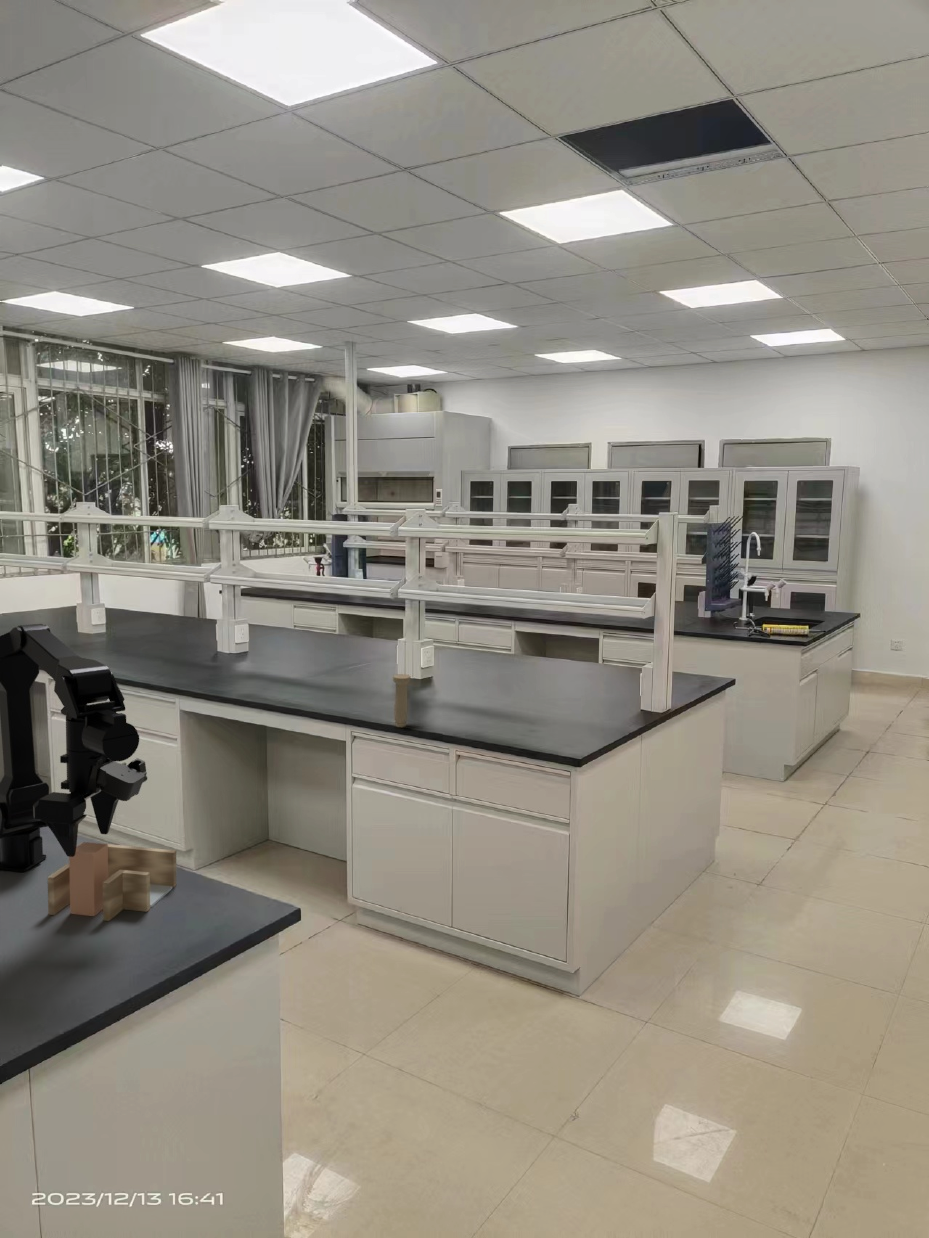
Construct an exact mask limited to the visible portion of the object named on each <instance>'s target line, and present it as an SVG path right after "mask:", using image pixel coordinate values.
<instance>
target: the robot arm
mask: <svg viewBox="0 0 929 1238" xmlns="http://www.w3.org/2000/svg"><path fill="white" fill-rule="evenodd" d="M40 669H42V670H43V671H44V672H45V673H46V674H47V675H48V676H50V677H51V678H52V679H53V681H54V688H53V691H54V693H55V694H56V696H57V697H58V699H59V700H60V702H61V704H62V706H63V707H62V709H60V714H61V715H64V716H65V743H66V745H65V747H66V748H65V750H66V752H65V754H62V755H59V758H60V759H59V760H60V764H61V763H62V764H66V779H65V780H62V781H61V782H60V789H61V790H67V791H68V792H69V793H68V792H67V793H66V792H56V791H52V792H51V793H50V786H49V785H48V783H47V782H44V781H43V780H42V778H41V777H40V776H39V775H38V774H37V772H36V771H37V770H36V759H35V758H36V756H35V742H34V728H33V712H32V700H31V698H32V697H31V689H32V686H33V685H34V683H35V681H36V679H37V678H38V676H39V674H40ZM108 700H109V701H108ZM124 701H125V697H124V695H123V693H122V691H121V689H120V686H119V685H118V683H117V681H116V678H115V676H114V674H113V672H112V671H111V669H110V667H108V666H107V665H106V664H104V663H102V662H100V661H98V660H95V659H92V658H91V659H90V658H86V657H81V656H79V655H77V654H76V653H75V652H74V651H73V650H72V649H71V648H69V647H68V646H67V645H66V644H65V643H63V641H61V640H60V639H59V638H58V637H56V635H54V634H53V633H52V632H51V629H50V627H49V625H46V624H43V623H34V624H33V623H32V624H21V625H17V626H16V627H15V626H14V627H13V628H12V629H11V630H10V631H8V632H5V633H4V634H2V635H0V729H1V730H0V733H1V747H2V748H1V749H2V760H3V773H4V774H3V777H2V778H1V780H0V870H1V871H2V870H3V871H12V872H22V873H23V872H27V871H28V870H30V869H31V868H33V867H34V866H36V865H37V864H39V863H40V862H42V861H44V860H45V859H46V858H47V855H46V854H44V849H43V847H44V846H43V836H41V829H42V828H48V829H49V830H50V831H51V832H52V834H53V835H54V837H55V838H56V841H58V844H60V847H61V849H62V850H63V851H64V854H65V856H67V857H68V858H69V857H74V856H75V853H76V847H77V846H78V845H77V844H78V833H79V824H80V823H81V822H83V820H84V819H85V818H86V817H87V814H85V811H86V809H87V800H88V799H90V801H91V805H92V809H93V811H94V812H93V813H94V816H95V819H96V820H95V821H96V824H97V828H98V830H99V833H100V834H101V835H108V834H109V832H110V828H111V825H112V822H113V819H114V815H115V812H116V809H117V806H118V804H119V801H122V802H127V801H130V800H131V799H132V798H133V797H135V796H137V795H139V794H140V791H141V788H142V785H143V783H146V782H147V780H148V776H147V768H146V761H145V760H142V759H140V758H137V757H136V759H134V760H132V761H130V762H129V763H128V764H127V763H126V762H123V761H125V760H128V759H129V758H131V757H132V756H133V755H134V754H135V753H136V751H137V749H138V748H139V744H140V735H139V732H138V730H137V729H136V726H134V725H133V724H131V723H129V722H127V715H126V714H125V713H121V712H125V711H126V705H125V703H124ZM120 762H122V763H120Z"/></svg>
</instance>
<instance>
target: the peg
mask: <svg viewBox="0 0 929 1238" xmlns="http://www.w3.org/2000/svg"><path fill="white" fill-rule="evenodd" d="M99 843H100V842H89V841H88V842H86V841H83V842H82V843H80V844H79V845H77V846H76V853H75V856H74V857H68V858H69V859H68V861H69V862H68V863H69V870H70V904H69V908H70V909H69V911H70V914H71V915H72V914H73V915H78V916H79V915H80V916H91V917H96V915H98V914H99V913H100V912H102V911H103V882H104V881H106V880H107V879H108V843H101V844H99Z"/></svg>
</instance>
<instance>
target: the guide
mask: <svg viewBox="0 0 929 1238" xmlns="http://www.w3.org/2000/svg"><path fill="white" fill-rule="evenodd" d="M98 843H99V844H102V843H100V842H98ZM107 844H108V843H107ZM176 886H177V850H173V849H163V848H162V849H161V848H151V847H145V846H144V847H142V846H141V847H140V846H133V845H132V846H131V845H123V844H121V845H119V844H113V843H112V844H111V843H109V844H108V879H107V880H106V881H104V882H103V910H102V921H107V922H110V921H111V920H112V919H114V918H115V917H116V916H117V915H119V913H120V912H122V911H124V910H127V911H136V912H137V911H138V912H144V913H145V912H148V911H150V910H151V908H153V907H154V906H155V905H156V904H157V903H158V902H160V901H161V900H162V899H163V898H164V897H165V896H166V895H167V894H168V893H170V891H172V889H173V888H175V887H176ZM47 902H48V903H47V908H48V912H47V913H48V915H49V916H51V915H52V916H55V915H57V914H58V913H59V912H60V911H62V910H63V909H65V908H66V907H67V906H68V905H70V870H69V862H68V863H67V864H65V865H64V866H62V867H61V868H59V869H58V870H56V871H55V872H53V873H52V874H50V875H49V876H48V877H47Z"/></svg>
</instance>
